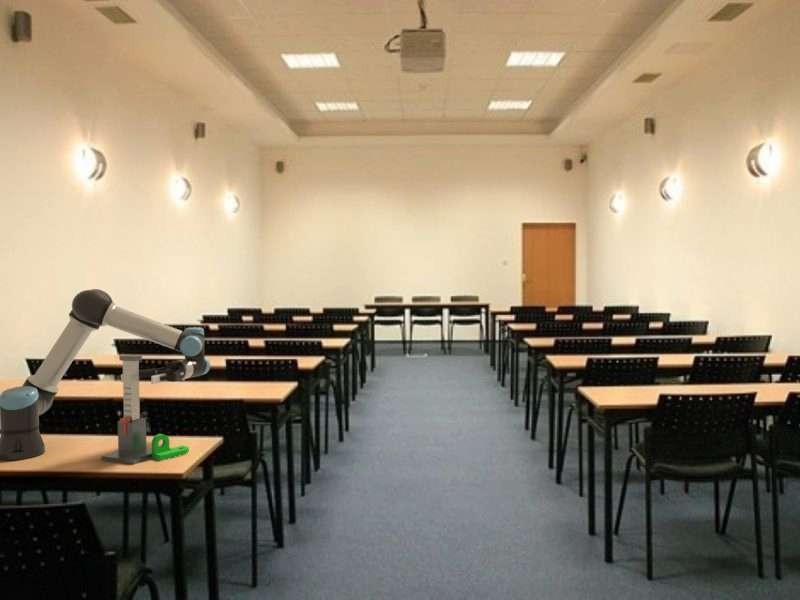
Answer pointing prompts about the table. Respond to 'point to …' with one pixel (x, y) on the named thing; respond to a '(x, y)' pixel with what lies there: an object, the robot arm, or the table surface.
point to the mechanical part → (166, 448)
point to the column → (131, 386)
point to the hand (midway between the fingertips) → (136, 379)
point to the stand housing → (130, 443)
